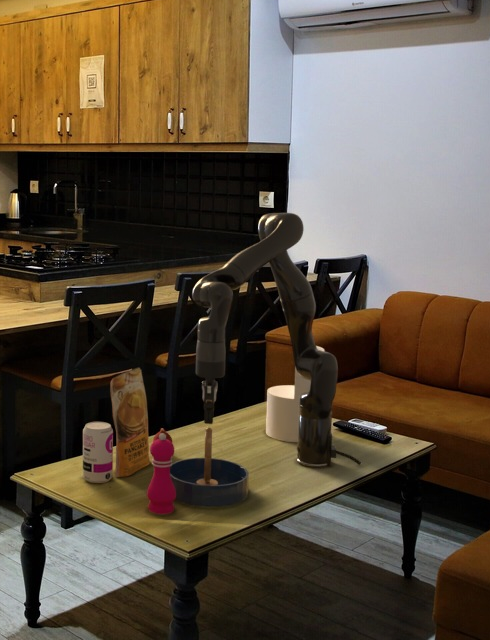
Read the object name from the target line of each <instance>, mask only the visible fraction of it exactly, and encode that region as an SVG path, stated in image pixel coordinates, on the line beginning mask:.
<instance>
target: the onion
mask: <svg viewBox="0 0 490 640" xmlns="http://www.w3.org/2000/svg"><path fill="white" fill-rule="evenodd" d="M161 433H164V434H165V435H166V439H167V440H169V441H171V442H172V444H174V443H173V437H172V436H171V435H170V433H168V432H167V431H166V430H165V428H160V431H158V432H157V433H156V434H155V435H154V436H153V439H152V443H153V442H154V441H155V440H157V439H159V435H160V434H161Z"/></svg>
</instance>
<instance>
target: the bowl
mask: <svg viewBox="0 0 490 640" xmlns="http://www.w3.org/2000/svg"><path fill="white" fill-rule="evenodd" d="M204 459H205V457H192V458H191V457H190V458H184V459H180V460H177V461H174V462H172V465H171V466H170V477H171V480H172V482H173V485H174V487H175V490H176V498H175V500H176V501H178V502H180V503H184V504H186V505H187V504H188V505H191V506H197V507H206V508H207V507H209V508H219V507H228V506H233V505H236V504H240V503H241V502H243V501H245V500H246V499H247V498H248V496H249V480H250V479H249V478H250V477H249V476H250V475H249V472H250V471H248V469H247V468H246V467H245V466H243V465H241V464H239V463H237V462H233V461H230V460H226V459H223V458H222V459H221V458H214V457H211V479H213V480H216V481H217V482H218V485H201V484H197V480H199V479H204Z"/></svg>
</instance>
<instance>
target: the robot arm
mask: <svg viewBox="0 0 490 640" xmlns="http://www.w3.org/2000/svg"><path fill="white" fill-rule="evenodd" d="M304 227H305V226H304V222H303V220H302V218H301V217H300V216H299V215H298V214H296V213H293V212H271V213H270V212H269V213H265V214H263V215H262V216H261V217H260V219H259V220H258V228H257V231H258V237H259V240H260V241H259V242H257V243H254V244H253V245H250V246H249V247H247V248H244V249H243V250H241V251H240V252H239V251H238V253H236V254H235V255H234V256H233V257H231V258H230V259H229V260H228V261H227V262H226V263H225V264H224V265H223V266H222V267H220V268H218V269H216V270H214V271H212V272H210V273H208V274H207V275H204V276H203V277H202V278H200V279H199V280H198V281H197V282H196V283H195V285H194V286H193V288H192V293H191V296H192V300H193V302H194V303H195V304H196V306H197V305H198V306H199V307H202V308H208V309H211V311H210V313H209V315H208V316H203V317H201V318H199V320H198V323H197V341H196V348H195V350H196V351H195V375H196V376H197V377H198V378H204V379H205V380H203V381H202V382H201V383H202V384H201V391H202V401H203V407H202V408H203V410H204V414H203V415H204V418H203V423H204V424H206V425H212V424H213V423H214V413H215V411H214V410H215V402H216V401H217V393H218V385H219V383H218V381H216V379H221V378H223V377H225V375H226V353H227V351H226V326H227V322H228V318H229V315H230V312H231V308H232V305H233V301H234V293H233V291H235V290H238V289H240V288H241V287H242V286H243V285H245V283H246V282H248V281H249V279H251V277H252V276H254V275H255V274H256V273H257V272H258V271H259V270H260V269H262V268H264V267H265V266H266V265H267V264H268V263H269V266H270V269H271V272H272V275H273V279H274V282H275V284H276V289H277V292H278V293H277V294H278V299H279V302H280V305H281V309H282V312H283V316H284V319H285V323H286V325H287V330H288V333H289V337H290V343H291V349H292V355H293V361H294V366H295V367H296V370H297V372H298V374H299V375H300V376H301V377H303V378H304V379H307V380H310V381H311V385H310V391H309V392H304V393H302V394H301V396H300V407H299V432H298V442H297V448H296V449H297V450H296V451H297V453H296V454H297V457H296V462H297V463H298V464H299V465H301V466H304V467H309V468H326V467H331V466H332V459H337V455H339V456H342V457H345V458H346V459H349V460H350V461H352V462H354V463H355V464H357V465H358V466H361V464H362V461H361V460H359V459H357V458H356V457H354V456H352V455H351V454H348V453H346V452H343V451H340V450H337V448H336V445H335V444H333V433H332V425H333V423H332V422H333V402H334V400H335V398H336V394H337V385H338V375H339V365H338V360H337V358H336V356H335V355H334V354H332V353H330V352H328V351H321V350H318V349H317V347H316V346H317V345H316V343H315V339H314V335H313V323H314V320H315V316H316V311H317V305H316V300H315V296H314V291H313V288H312V286H311V283H310V282H309V280H308V278H307V277H306V276H305V275H304V274H303V272H302V271H301V270H300V268H299V267H297V265H296V264H295V263H294V261H293V260H292V259H291V257H290V255H289V252H288V250H289V249H291V248H292V247H294V246H295V245H297V243H299V242H300V241H301V239H302V238H303V234H304V230H305V229H304ZM295 367H294V368H295Z"/></svg>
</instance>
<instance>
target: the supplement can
mask: <svg viewBox="0 0 490 640" xmlns="http://www.w3.org/2000/svg"><path fill="white" fill-rule="evenodd" d="M113 463H114V430H113V428H112V425H111V424H110V423H108V422H104V421H91V422H88V423H86V424H85V426H84V428H83V429H82V478H83V479H84V480H85V481H86V482H88V483H92V484H103V483H108V482H110V480H111V479H112V478H113V472H114V471H113V470H114V469H113V468H114V466H113Z"/></svg>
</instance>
